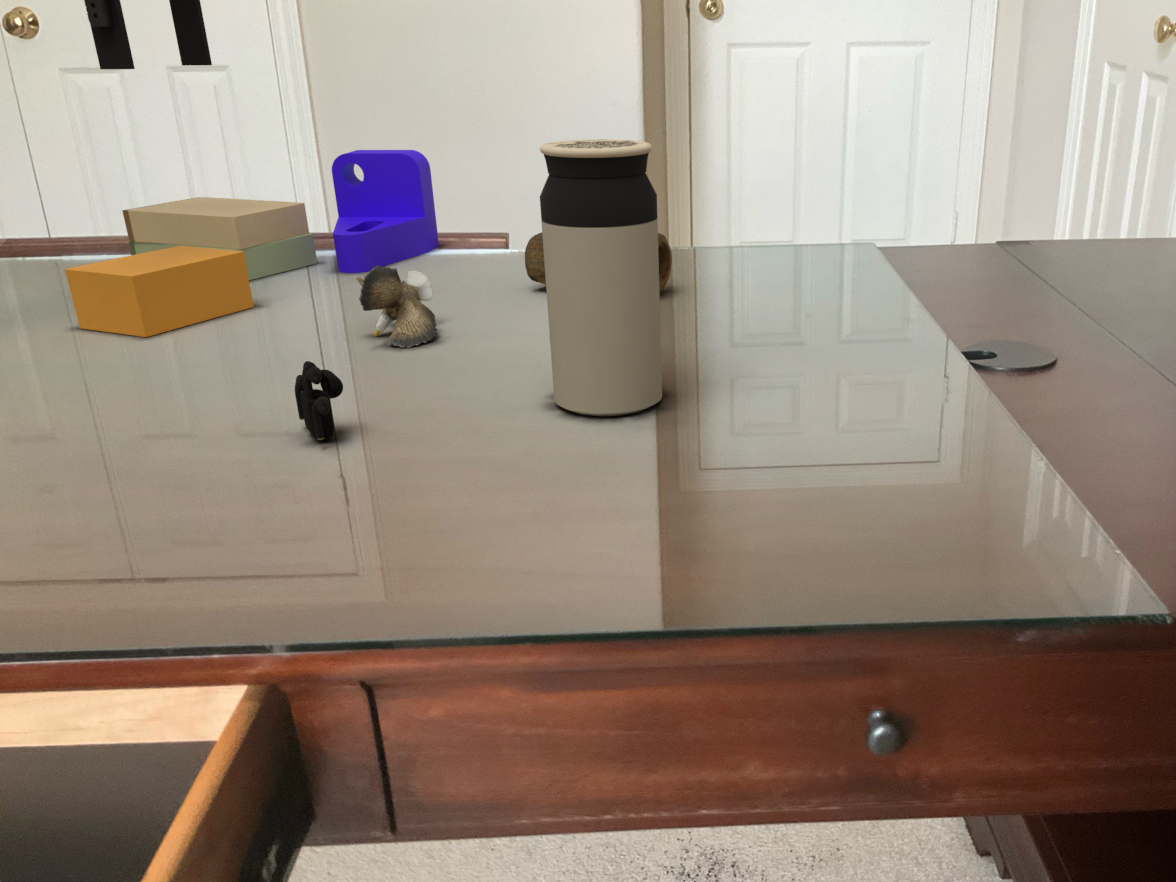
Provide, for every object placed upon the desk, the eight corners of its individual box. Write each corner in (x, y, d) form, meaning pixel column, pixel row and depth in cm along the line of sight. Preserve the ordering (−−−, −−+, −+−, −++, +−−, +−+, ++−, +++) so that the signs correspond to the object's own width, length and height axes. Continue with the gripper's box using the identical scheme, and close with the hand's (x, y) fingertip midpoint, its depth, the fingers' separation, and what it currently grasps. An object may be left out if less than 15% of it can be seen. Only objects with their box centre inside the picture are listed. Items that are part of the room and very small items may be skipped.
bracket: (356, 245, 140) (342, 149, 135) (438, 245, 140) (428, 149, 135) (303, 273, 124) (285, 165, 119) (396, 273, 124) (382, 165, 119)
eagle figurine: (337, 316, 100) (341, 320, 91) (371, 246, 99) (377, 244, 91) (414, 355, 103) (425, 361, 95) (447, 287, 102) (460, 288, 94)
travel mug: (682, 406, 79) (677, 145, 71) (583, 425, 75) (566, 152, 67) (631, 379, 85) (621, 136, 77) (537, 396, 81) (517, 142, 74)
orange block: (145, 337, 98) (131, 276, 95) (79, 328, 101) (64, 268, 98) (254, 307, 108) (243, 251, 106) (191, 299, 111) (179, 245, 109)
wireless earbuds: (297, 424, 76) (285, 354, 73) (334, 418, 77) (322, 348, 75) (322, 454, 70) (310, 379, 68) (361, 447, 71) (350, 372, 69)
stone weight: (677, 287, 116) (676, 223, 113) (658, 302, 110) (656, 234, 107) (546, 281, 119) (542, 218, 116) (521, 294, 113) (515, 229, 110)
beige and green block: (132, 272, 125) (118, 209, 122) (216, 253, 135) (205, 195, 132) (240, 283, 119) (227, 217, 116) (319, 263, 129) (309, 202, 126)
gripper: (53, -239, 81) (121, 70, 90) (218, -179, 103) (259, 63, 112) (-42, -236, 81) (35, 71, 90) (143, -177, 104) (190, 64, 113)
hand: (159, 67), depth 101 cm, fingers open, 13 cm apart
